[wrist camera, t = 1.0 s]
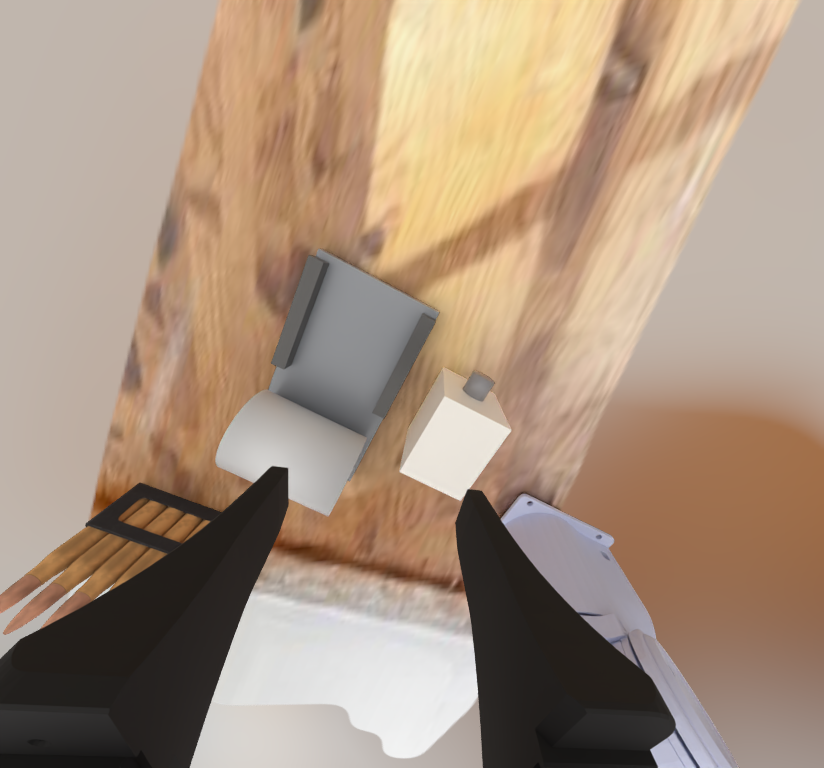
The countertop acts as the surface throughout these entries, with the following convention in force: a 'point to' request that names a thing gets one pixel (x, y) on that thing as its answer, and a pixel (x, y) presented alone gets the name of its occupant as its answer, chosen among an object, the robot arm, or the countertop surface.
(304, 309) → the motor mount
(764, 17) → the countertop surface
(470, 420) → the block
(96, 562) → the ammunition clip
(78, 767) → the robot arm
